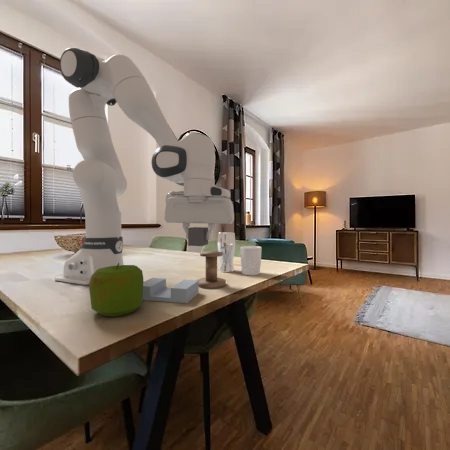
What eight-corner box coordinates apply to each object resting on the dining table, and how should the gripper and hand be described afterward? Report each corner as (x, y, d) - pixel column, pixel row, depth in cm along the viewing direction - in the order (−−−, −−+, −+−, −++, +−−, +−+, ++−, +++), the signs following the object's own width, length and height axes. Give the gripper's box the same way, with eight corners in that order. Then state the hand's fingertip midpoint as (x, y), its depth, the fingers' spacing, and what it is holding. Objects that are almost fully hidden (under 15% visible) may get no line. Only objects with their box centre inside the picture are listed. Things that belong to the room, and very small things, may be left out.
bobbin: (192, 287, 78) (192, 254, 78) (201, 280, 87) (201, 250, 86) (222, 289, 76) (222, 255, 76) (228, 281, 85) (228, 251, 85)
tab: (188, 245, 73) (188, 227, 73) (195, 243, 79) (195, 227, 79) (201, 246, 72) (202, 228, 72) (208, 244, 78) (208, 227, 78)
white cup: (260, 276, 93) (260, 248, 93) (238, 275, 95) (238, 247, 94) (262, 271, 101) (262, 246, 101) (241, 271, 102) (241, 245, 102)
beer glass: (224, 268, 108) (224, 232, 107) (238, 270, 104) (238, 232, 103) (213, 271, 102) (213, 232, 102) (228, 273, 98) (228, 233, 98)
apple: (133, 300, 66) (132, 257, 66) (152, 312, 58) (152, 262, 57) (84, 310, 58) (83, 262, 58) (98, 325, 50) (97, 269, 50)
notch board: (135, 299, 67) (134, 285, 66) (152, 289, 75) (152, 277, 75) (186, 303, 64) (186, 288, 63) (198, 292, 72) (198, 280, 72)
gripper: (160, 190, 74) (160, 238, 75) (231, 189, 70) (230, 241, 70) (170, 192, 80) (169, 237, 81) (235, 192, 76) (234, 239, 76)
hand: (198, 239), depth 75 cm, fingers closed on tab, 4 cm apart
